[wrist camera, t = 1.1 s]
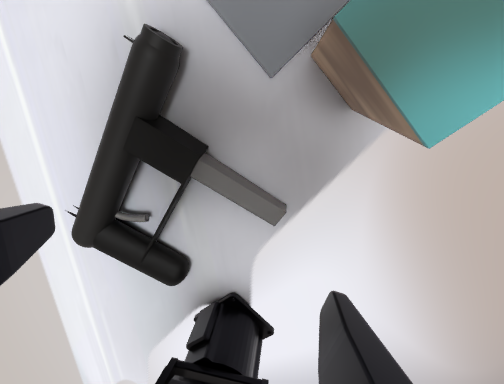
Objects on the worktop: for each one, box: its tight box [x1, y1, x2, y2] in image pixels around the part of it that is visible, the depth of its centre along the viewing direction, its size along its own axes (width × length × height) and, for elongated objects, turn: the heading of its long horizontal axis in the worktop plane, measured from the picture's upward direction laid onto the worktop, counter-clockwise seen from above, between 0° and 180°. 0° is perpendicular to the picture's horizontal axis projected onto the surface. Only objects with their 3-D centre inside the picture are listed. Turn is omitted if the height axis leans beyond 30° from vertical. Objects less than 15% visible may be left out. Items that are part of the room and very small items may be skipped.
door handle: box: [65, 24, 286, 286], centre depth 21 cm, size 3×20×16 cm
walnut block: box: [311, 0, 504, 148], centre depth 11 cm, size 4×4×11 cm
